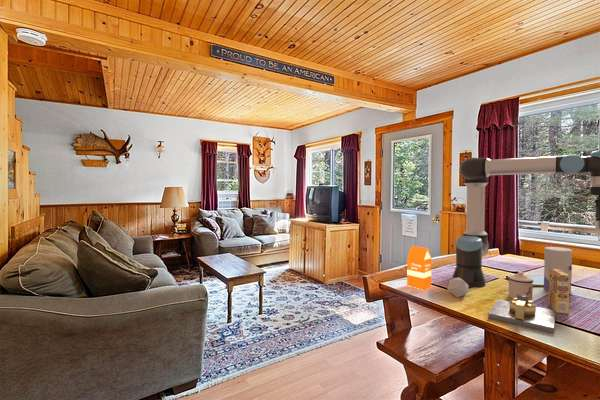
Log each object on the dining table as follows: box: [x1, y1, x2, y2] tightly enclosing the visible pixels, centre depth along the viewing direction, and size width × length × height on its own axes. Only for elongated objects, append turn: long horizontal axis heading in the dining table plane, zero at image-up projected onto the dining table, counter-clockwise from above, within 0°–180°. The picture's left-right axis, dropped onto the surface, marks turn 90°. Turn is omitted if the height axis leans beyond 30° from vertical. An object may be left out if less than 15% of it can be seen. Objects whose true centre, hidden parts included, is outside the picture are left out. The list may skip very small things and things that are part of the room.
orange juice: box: [406, 245, 432, 291], centre depth 154 cm, size 8×9×20 cm
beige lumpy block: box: [509, 298, 537, 320], centre depth 115 cm, size 13×8×5 cm, turn 139°
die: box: [447, 277, 470, 298], centre depth 141 cm, size 8×9×10 cm
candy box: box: [548, 269, 570, 315], centre depth 124 cm, size 9×4×15 cm, turn 159°
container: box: [543, 246, 573, 294], centre depth 146 cm, size 10×10×20 cm
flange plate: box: [487, 294, 557, 334], centre depth 117 cm, size 19×19×8 cm
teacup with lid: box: [507, 271, 534, 301], centre depth 138 cm, size 12×9×12 cm
